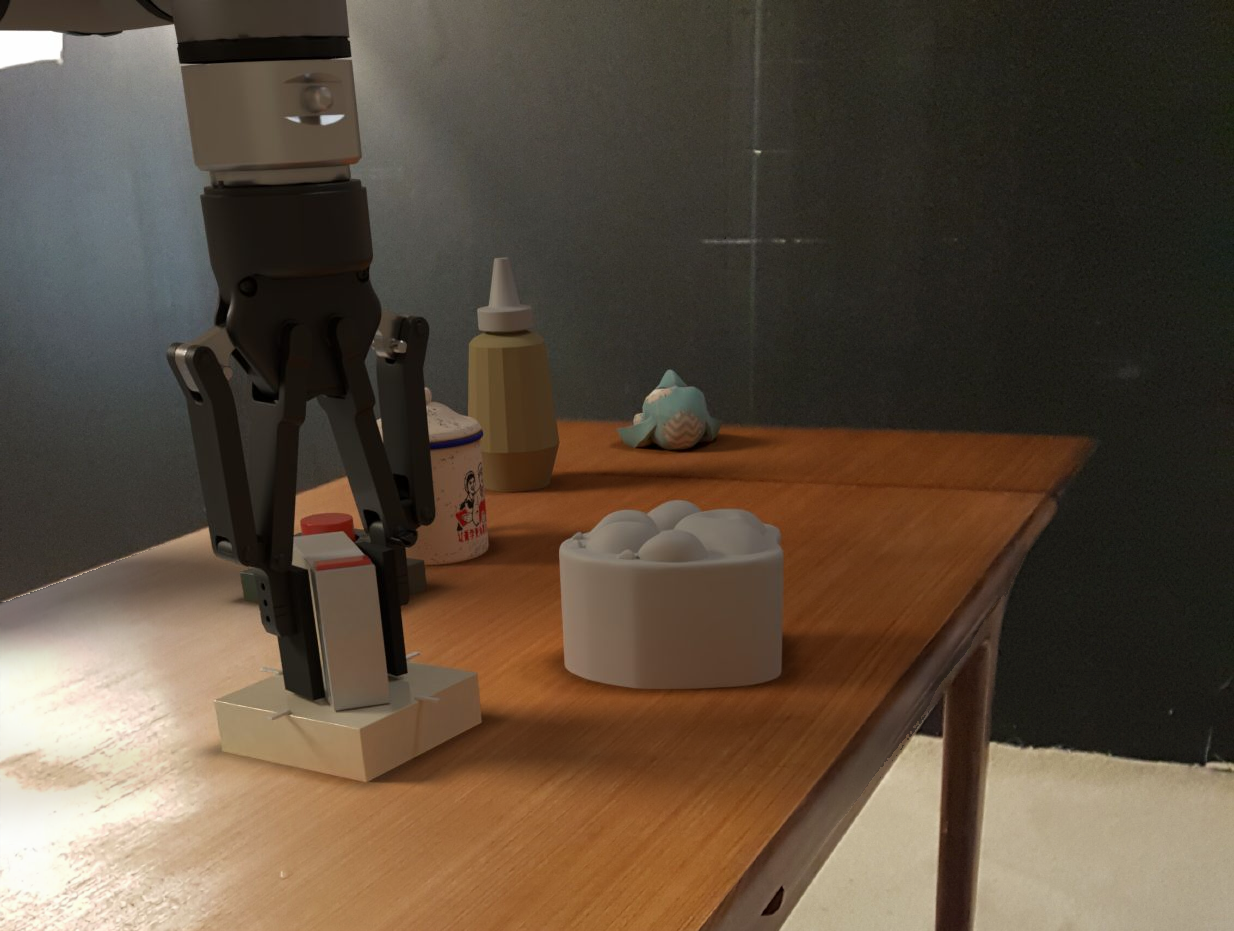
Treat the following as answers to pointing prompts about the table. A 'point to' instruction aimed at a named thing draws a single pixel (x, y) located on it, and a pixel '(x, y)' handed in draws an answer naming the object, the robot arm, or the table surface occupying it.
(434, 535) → the teacup with lid
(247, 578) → the button box
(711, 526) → the lumpy-topped squat cylinder
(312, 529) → the red button
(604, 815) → the table surface
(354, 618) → the tap lever
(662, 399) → the stuffed animal
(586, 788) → the table surface
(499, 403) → the squeeze bottle
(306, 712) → the panel
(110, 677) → the table surface
